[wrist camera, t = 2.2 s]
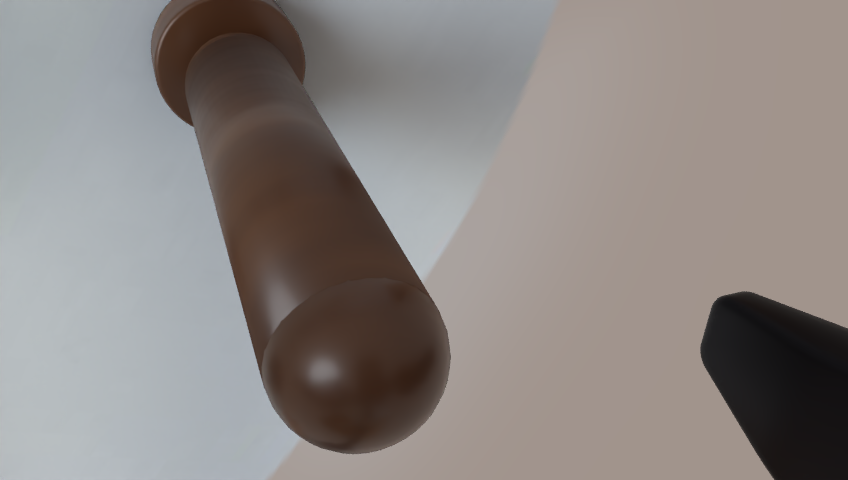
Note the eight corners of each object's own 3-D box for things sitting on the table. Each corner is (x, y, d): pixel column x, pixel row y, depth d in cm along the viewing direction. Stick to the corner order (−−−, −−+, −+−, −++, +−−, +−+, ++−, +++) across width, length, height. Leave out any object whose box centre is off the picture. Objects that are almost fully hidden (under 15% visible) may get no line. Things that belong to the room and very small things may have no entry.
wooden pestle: (317, 18, 18) (574, 337, 8) (259, 136, 19) (430, 537, 9) (184, -48, 16) (321, 261, 7) (128, 85, 17) (178, 515, 8)
